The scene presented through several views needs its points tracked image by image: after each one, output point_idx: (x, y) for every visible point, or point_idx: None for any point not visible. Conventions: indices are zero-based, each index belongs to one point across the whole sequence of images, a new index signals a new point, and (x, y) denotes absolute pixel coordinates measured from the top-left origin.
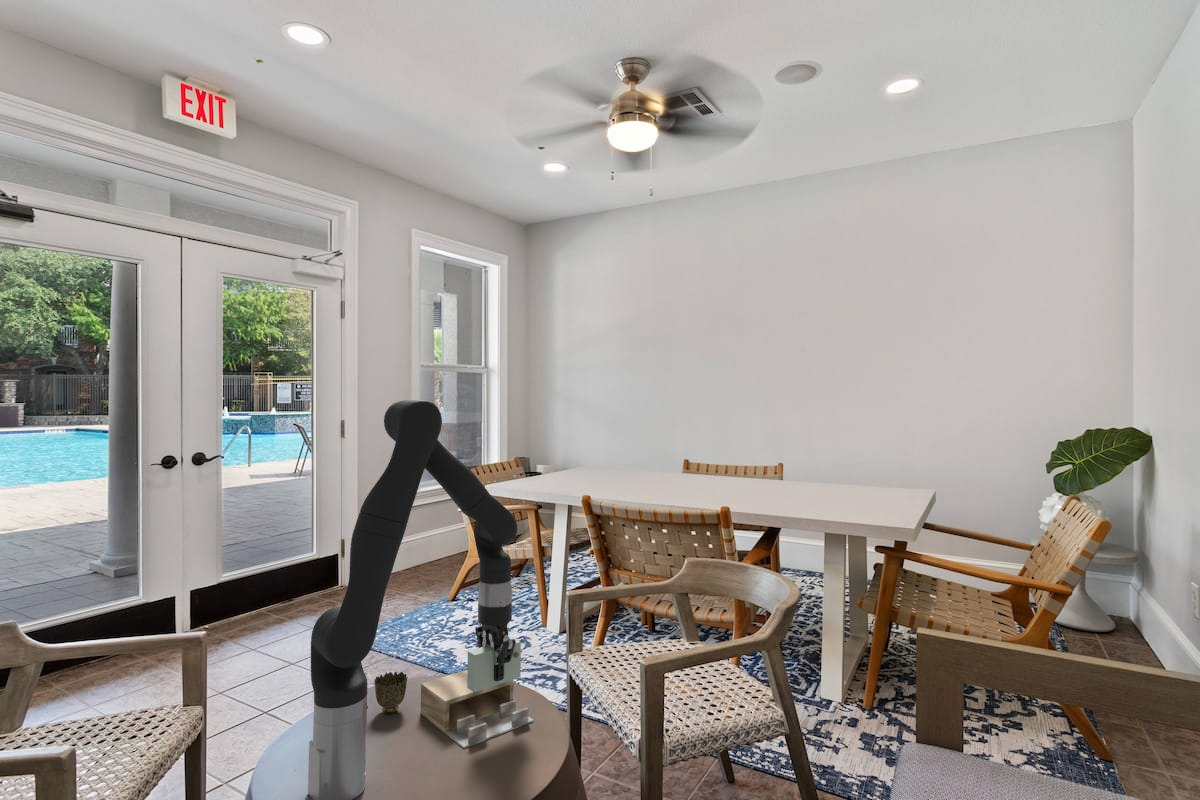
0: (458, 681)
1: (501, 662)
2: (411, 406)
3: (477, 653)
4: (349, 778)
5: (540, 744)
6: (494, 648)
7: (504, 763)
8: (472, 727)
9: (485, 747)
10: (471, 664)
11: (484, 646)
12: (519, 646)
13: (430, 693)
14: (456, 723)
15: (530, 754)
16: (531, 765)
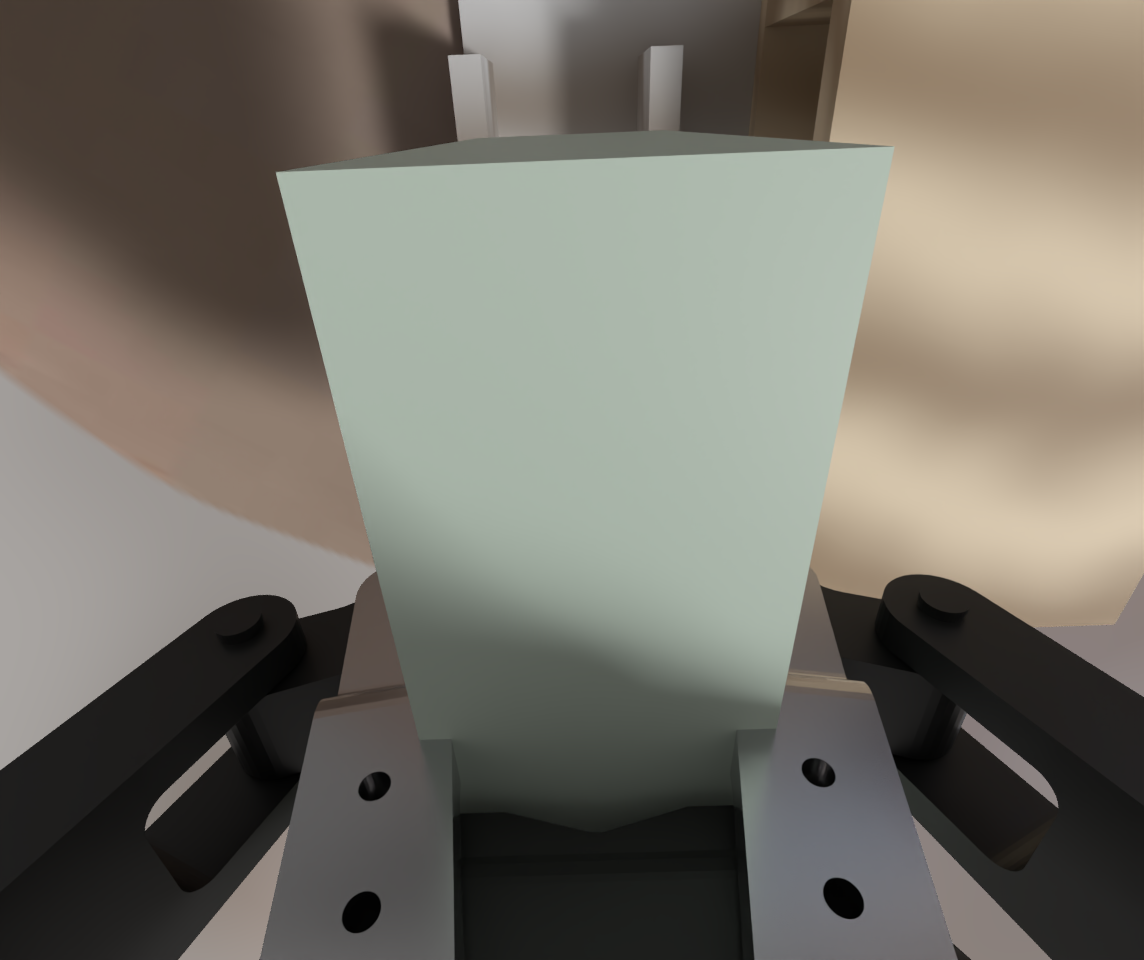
0: (1105, 303)
1: (179, 636)
2: None
3: (391, 354)
4: None
5: (277, 436)
6: (293, 824)
7: (151, 157)
8: (477, 96)
9: None
10: (551, 145)
11: (771, 725)
12: None
13: None
14: (770, 114)
15: (197, 342)
16: (75, 284)
